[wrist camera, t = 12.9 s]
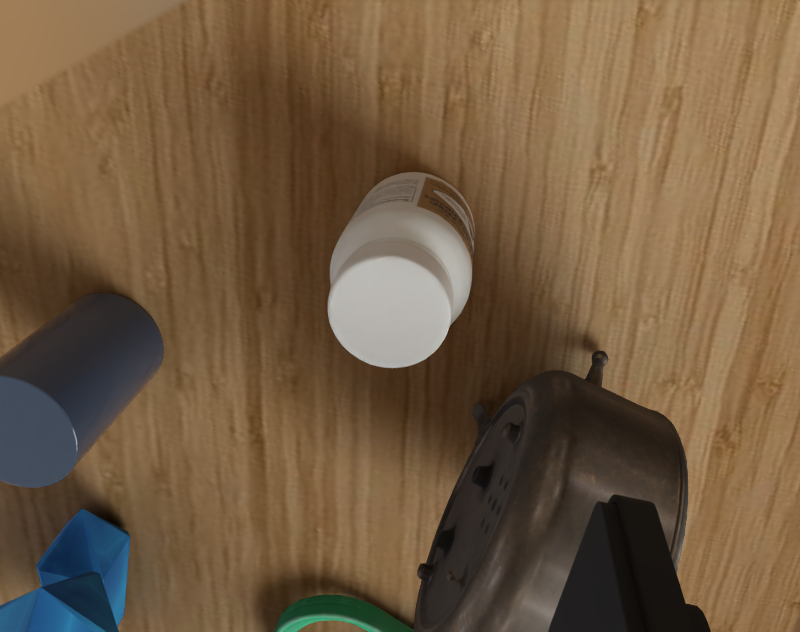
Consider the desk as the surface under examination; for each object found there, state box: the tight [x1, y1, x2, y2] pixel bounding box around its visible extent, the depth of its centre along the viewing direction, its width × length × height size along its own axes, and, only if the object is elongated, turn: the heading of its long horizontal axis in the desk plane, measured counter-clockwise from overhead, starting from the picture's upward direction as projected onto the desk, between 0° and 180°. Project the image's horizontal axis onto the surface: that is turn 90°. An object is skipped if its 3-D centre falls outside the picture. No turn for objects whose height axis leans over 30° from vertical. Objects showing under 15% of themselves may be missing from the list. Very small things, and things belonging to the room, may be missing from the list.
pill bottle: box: [328, 172, 475, 368], centre depth 23 cm, size 4×4×8 cm
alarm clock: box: [414, 351, 688, 632], centre depth 22 cm, size 11×5×16 cm, turn 157°
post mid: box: [0, 293, 164, 488], centre depth 27 cm, size 4×4×7 cm
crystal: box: [0, 509, 130, 632], centre depth 32 cm, size 7×9×12 cm
